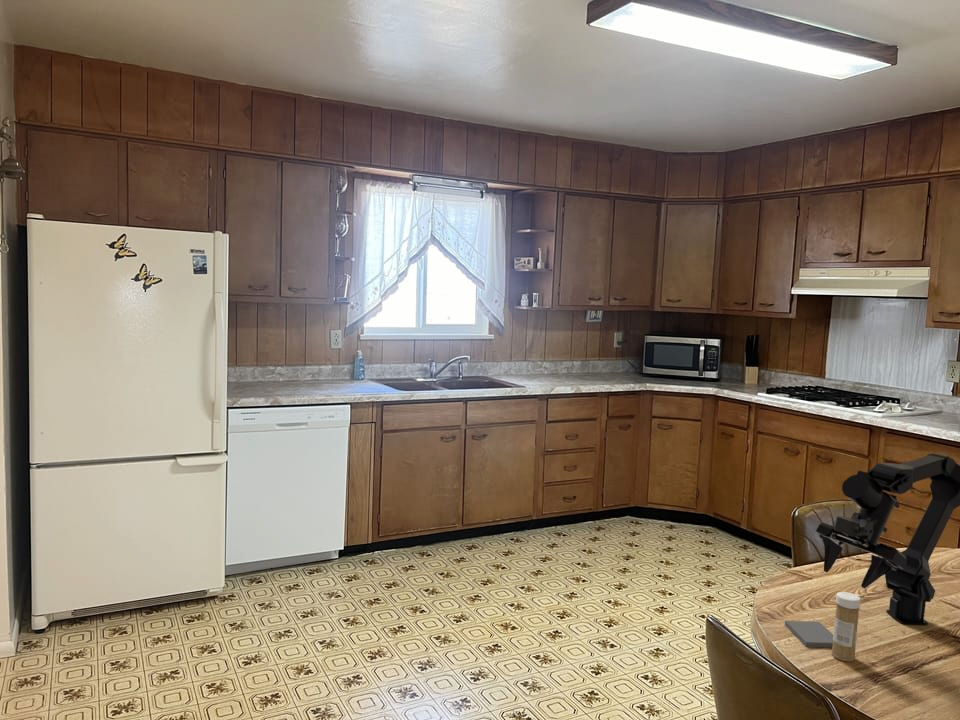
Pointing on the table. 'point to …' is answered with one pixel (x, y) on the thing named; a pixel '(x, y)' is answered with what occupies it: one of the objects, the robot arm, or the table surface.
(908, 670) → the table surface
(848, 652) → the sprinkles bottle
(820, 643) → the slate tile
